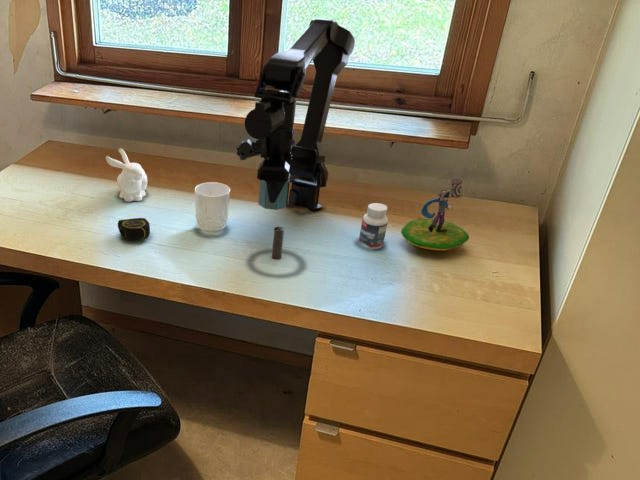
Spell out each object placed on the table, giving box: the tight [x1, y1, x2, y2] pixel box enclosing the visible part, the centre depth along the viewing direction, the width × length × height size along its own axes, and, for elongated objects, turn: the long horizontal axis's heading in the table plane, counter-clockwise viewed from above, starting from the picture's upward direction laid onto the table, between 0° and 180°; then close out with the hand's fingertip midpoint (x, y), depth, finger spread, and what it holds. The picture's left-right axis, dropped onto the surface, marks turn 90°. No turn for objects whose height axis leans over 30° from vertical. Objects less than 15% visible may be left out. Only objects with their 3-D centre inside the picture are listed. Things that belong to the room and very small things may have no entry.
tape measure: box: [117, 217, 151, 242], centre depth 154 cm, size 7×7×4 cm
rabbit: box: [105, 147, 149, 203], centre depth 171 cm, size 12×9×12 cm
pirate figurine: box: [400, 178, 470, 251], centre depth 145 cm, size 14×13×15 cm
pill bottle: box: [358, 202, 389, 250], centre depth 148 cm, size 5×5×9 cm
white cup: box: [194, 181, 231, 232], centre depth 155 cm, size 8×8×10 cm
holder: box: [271, 226, 285, 261], centre depth 142 cm, size 11×11×8 cm
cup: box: [257, 173, 291, 211], centre depth 148 cm, size 6×6×7 cm
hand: (273, 196), depth 149 cm, fingers closed on cup, 6 cm apart
